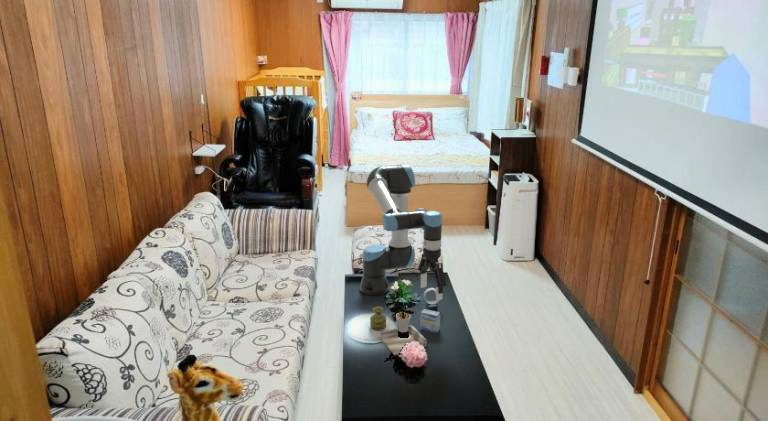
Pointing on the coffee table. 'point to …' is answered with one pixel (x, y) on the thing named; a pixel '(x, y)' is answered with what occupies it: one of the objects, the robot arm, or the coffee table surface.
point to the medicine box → (430, 321)
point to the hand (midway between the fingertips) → (431, 293)
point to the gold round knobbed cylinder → (378, 319)
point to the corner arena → (400, 339)
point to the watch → (431, 304)
